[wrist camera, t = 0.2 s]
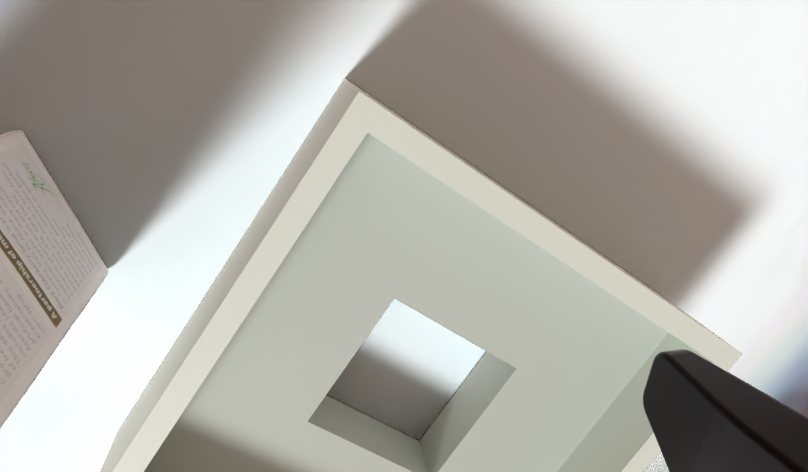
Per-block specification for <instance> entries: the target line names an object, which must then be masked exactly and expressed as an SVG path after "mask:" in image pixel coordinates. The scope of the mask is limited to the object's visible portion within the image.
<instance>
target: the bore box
mask: <svg viewBox="0 0 808 472" xmlns="http://www.w3.org/2000/svg"><path fill="white" fill-rule="evenodd" d="M394 298H395V299H397V300H399V301H400V302H402V303H404V304H405V305H407V306H409V307H411V308H412V309H414V310H416V311H418V312H419V313H421V314H423V315H425V316H426V317H428V318H430V319H432V320H433V321H435V322H437V323H438V324H440V325H442V326H444V327H445V328H447V329H449V330H451V331H452V332H454V333H456V334H458V335H459V336H461V337H463V338H465V339H466V340H468V341H470V342H471V343H473V344H475V345H477V346H478V347H480V348H482V349H484V350H485V351H486V352H485V354H484V355H483V356H482V358H481V359H480V360H479V362H478V363H477V364H476V366H475V367H474V368H473V370H472V371H471V372H470V374H469V375H468V376H467V378H466V379H465V380H464V382H463V383H462V385H461V386H460V387H459V389H458V390H457V391H456V393H455V394H454V395H453V397H452V398H451V399H450V401H449V402H448V403H447V405H446V406H445V407H444V409H443V410H442V411H441V413H440V414H439V415H438V417H437V418H436V419H435V421H434V422H433V423H432V425H431V426H430V427H429V429H428V430H427V431H426V433H425V434H424V435H423V437H422V438H421V439H420V441H418V440H416V439H414V438H412V437H410V436H408V435H406V434H404V433H402V432H400V431H398V430H396V429H394V428H392V427H390V426H388V425H386V424H383V423H381V422H379V421H377V420H375V419H373V418H371V417H369V416H367V415H365V414H363V413H361V412H359V411H357V410H355V409H353V408H351V407H349V406H347V405H345V404H343V403H341V402H339V401H337V400H335V399H333V398H331V397H329V396H327V393H328V392H329V390H330V389H331V387H332V386H333V385H334V383H335V382H336V380H337V379H338V378H339V376H340V375H341V373H342V372H343V370H344V369H345V368H346V366H347V365H348V363H349V362H350V360H351V359H352V358H353V356H354V355H355V353H356V352H357V351H358V349H359V348H360V346H361V345H362V343H363V342H364V341H365V339H366V338H367V336H368V335H369V334H370V332H371V331H372V329H373V328H374V326H375V325H376V324H377V322H378V321H379V319H380V318H381V316H382V315H383V314H384V312H385V311H386V309H387V308H388V307H389V305H390V304H391V302H392V301H393V299H394ZM680 349H685V350H690V351H692V352H694V353H696V354H697V355H699V356H701V357H703V358H704V359H706V360H708V361H710V362H711V363H713V364H715V365H716V366H718V367H720V368H722V369H723V370H725V371H728V370H729V369H730V368H731V367H732V365H733V364H734V363H735V362H736V361H737V359H738V358H739V357H740V356H741V355H742V353H741V352H739V351H738V350H736V349H735V348H734V347H732V346H731V345H729V344H728V343H727V342H725V341H724V340H722V339H721V338H720V337H718V336H717V335H715V334H714V333H713V332H711V331H710V330H709V329H707V328H706V327H704V326H703V325H702V324H700V323H699V322H697V321H696V320H695V319H693V318H692V317H690V316H689V315H688V314H686V313H685V312H683V311H682V310H681V309H679V308H678V307H676V306H675V305H674V304H672V303H671V302H669V301H668V300H667V299H665V298H664V297H663V296H661V295H660V294H658V293H657V292H655V291H654V290H652V289H651V288H649V287H648V286H647V285H645V284H644V283H642V282H641V281H639V280H638V279H636V278H635V277H633V276H632V275H630V274H629V273H628V272H626V271H625V270H623V269H622V268H620V267H619V266H617V265H616V264H614V263H613V262H612V261H610V260H609V259H607V258H606V257H604V256H603V255H601V254H600V253H598V252H597V251H596V250H594V249H593V248H591V247H590V246H588V245H587V244H585V243H584V242H582V241H581V240H580V239H578V238H577V237H575V236H574V235H572V234H571V233H569V232H568V231H566V230H565V229H564V228H562V227H561V226H559V225H558V224H556V223H555V222H553V221H552V220H550V219H549V218H548V217H546V216H545V215H543V214H542V213H540V212H539V211H537V210H536V209H534V208H533V207H532V206H530V205H529V204H527V203H526V202H524V201H523V200H521V199H520V198H518V197H517V196H516V195H514V194H513V193H511V192H510V191H508V190H507V189H505V188H504V187H502V186H501V185H499V184H498V183H497V182H495V181H494V180H492V179H491V178H489V177H488V176H486V175H485V174H483V173H482V172H481V171H479V170H478V169H476V168H475V167H473V166H472V165H470V164H469V163H467V162H466V161H465V160H463V159H462V158H460V157H459V156H457V155H456V154H454V153H453V152H451V151H450V150H449V149H447V148H446V147H444V146H443V145H441V144H440V143H438V142H437V141H435V140H434V139H433V138H431V137H430V136H428V135H427V134H425V133H424V132H422V131H421V130H419V129H418V128H417V127H415V126H414V125H412V124H411V123H409V122H408V121H406V120H405V119H403V118H402V117H401V116H399V115H398V114H396V113H395V112H393V111H392V110H390V109H389V108H387V107H386V106H385V105H383V104H382V103H380V102H379V101H377V100H376V99H374V98H373V97H371V96H370V95H368V94H367V93H366V92H364V91H363V90H361V89H360V88H358V87H357V86H355V85H354V84H352V83H351V82H350V81H348V80H347V79H344V80H343V82H342V83H341V85H340V86H339V88H338V90H337V91H336V93H335V94H334V96H333V97H332V99H331V100H330V102H329V104H328V105H327V107H326V108H325V110H324V111H323V113H322V114H321V116H320V118H319V119H318V121H317V122H316V124H315V125H314V127H313V128H312V130H311V132H310V133H309V135H308V136H307V138H306V139H305V141H304V142H303V144H302V146H301V147H300V149H299V150H298V152H297V153H296V155H295V157H294V158H293V160H292V161H291V163H290V164H289V166H288V167H287V169H286V171H285V172H284V174H283V175H282V177H281V178H280V180H279V181H278V183H277V185H276V186H275V188H274V189H273V191H272V192H271V194H270V195H269V197H268V199H267V200H266V202H265V203H264V205H263V206H262V208H261V210H260V211H259V213H258V214H257V216H256V217H255V219H254V220H253V222H252V224H251V225H250V227H249V228H248V230H247V231H246V233H245V234H244V236H243V238H242V239H241V241H240V242H239V244H238V245H237V247H236V248H235V250H234V252H233V253H232V255H231V256H230V258H229V259H228V261H227V263H226V264H225V266H224V267H223V269H222V270H221V272H220V273H219V275H218V277H217V278H216V280H215V281H214V283H213V284H212V286H211V287H210V289H209V291H208V292H207V294H206V295H205V297H204V298H203V300H202V301H201V303H200V305H199V306H198V308H197V309H196V311H195V312H194V314H193V315H192V317H191V319H190V320H189V322H188V323H187V325H186V326H185V328H184V330H183V331H182V333H181V334H180V336H179V337H178V339H177V340H176V342H175V344H174V345H173V347H172V348H171V350H170V351H169V353H168V354H167V356H166V358H165V359H164V361H163V362H162V364H161V365H160V367H159V368H158V370H157V372H156V373H155V375H154V376H153V378H152V379H151V381H150V383H149V384H148V386H147V387H146V389H145V390H144V392H143V393H142V395H141V397H140V398H139V400H138V401H137V403H136V404H135V406H134V407H133V409H132V411H131V412H130V414H129V415H128V417H127V418H126V420H125V421H124V423H123V425H122V426H121V428H120V429H119V431H118V433H117V435H116V437H115V440H114V442H113V444H112V447H111V449H110V451H109V454H108V456H107V458H106V460H105V463H104V465H103V467H102V470H101V472H644V471H645V470H646V469H647V467H648V466H649V465H650V464H651V463H652V461H653V460H654V459H655V458H656V457H657V455H658V454H659V453H660V452H661V449H660V447H659V445H658V442H657V440H656V437H655V435H654V433H653V430H652V428H651V425H650V423H649V420H648V418H647V416H646V413H645V410H644V406H643V393H644V389H645V386H646V383H647V379H648V376H649V373H650V370H651V366H652V363H653V360H654V358H655V356H656V355H657V354H658V353H660V352H663V351H672V350H680Z"/></svg>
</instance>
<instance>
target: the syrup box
mask: <svg viewBox="0 0 808 472" xmlns="http://www.w3.org/2000/svg"><path fill="white" fill-rule="evenodd" d="M107 274H108V270H107V267H106V266H105V264H104V262H103V261H102V259H101V257H100V256H99V254H98V253H97V251H96V249H95V247H94V246H93V244H92V242H91V241H90V239H89V237H88V235H87V234H86V232H85V230H84V229H83V227H82V225H81V224H80V222H79V221H78V219H77V217H76V216H75V214H74V213H73V211H72V209H71V208H70V206H69V204H68V203H67V201H66V200H65V198H64V197H63V195H62V193H61V192H60V190H59V188H58V187H57V185H56V184H55V182H54V180H53V179H52V177H51V176H50V174H49V173H48V171H47V169H46V168H45V166H44V165H43V163H42V161H41V160H40V158H39V156H38V155H37V153H36V151H35V150H34V148H33V147H32V145H31V144H30V142H29V141H28V139H27V138H26V136H25V134H24V132H23V131H21V130H14V131H9V132H6V133H3V134H0V428H1V427H2V425H3V424H4V422H5V421H6V419H7V418H8V417H9V415H10V414H11V412H12V411H13V409H14V408H15V407H16V405H17V404H18V402H19V401H20V399H21V398H22V397H23V395H24V394H25V393H26V392H27V390H28V388H29V387H30V385H31V384H32V383H33V381H34V380H35V378H36V377H37V375H38V374H39V372H40V371H41V370H42V368H43V367H44V365H45V364H46V362H47V361H48V359H49V358H50V356H51V355H52V353H53V352H54V351H55V349H56V348H57V346H58V345H59V343H60V342H61V340H62V339H63V338H64V336H65V335H66V333H67V332H68V330H69V329H70V327H71V326H72V324H73V323H74V322H75V320H76V319H77V318H78V316H79V315H80V314H81V312H82V311H83V309H84V308H85V306H86V305H87V303H88V302H89V301H90V299H91V297H92V296H93V295H94V294H95V292H96V291H97V289H98V288H99V286H100V285H101V283H102V282H103V280H104V279H105V277H106V276H107Z"/></svg>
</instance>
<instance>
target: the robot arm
mask: <svg viewBox="0 0 808 472" xmlns="http://www.w3.org/2000/svg"><path fill="white" fill-rule="evenodd" d="M643 406H644V410H645V413H646V416H647V418H648V420H649V423H650V425H651V428H652V430H653V433H654V435H655V437H656V440H657V442H658V445H659V447H660V449H661V452H662V454H663V457H664V459H665V462H666V464H667V466H668V469H669V471H670V472H808V418H807V417H805V416H804V415H802V414H800V413H798V412H797V411H795V410H793V409H791V408H790V407H788V406H786V405H784V404H783V403H781V402H779V401H777V400H776V399H774V398H772V397H770V396H769V395H767V394H765V393H764V392H762V391H760V390H758V389H757V388H755V387H753V386H751V385H750V384H748V383H746V382H744V381H743V380H741V379H739V378H737V377H736V376H734V375H732V374H730V373H729V372H727V371H725V370H723V369H722V368H720V367H718V366H716V365H715V364H713V363H711V362H710V361H708V360H706V359H704V358H703V357H701V356H699V355H697V354H696V353H694V352H692V351H690V350H685V349H680V350H672V351H663V352H660V353H658V354H657V355H656V356H655V358H654V360H653V363H652V366H651V370H650V373H649V376H648V379H647V383H646V386H645V389H644V393H643Z"/></svg>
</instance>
